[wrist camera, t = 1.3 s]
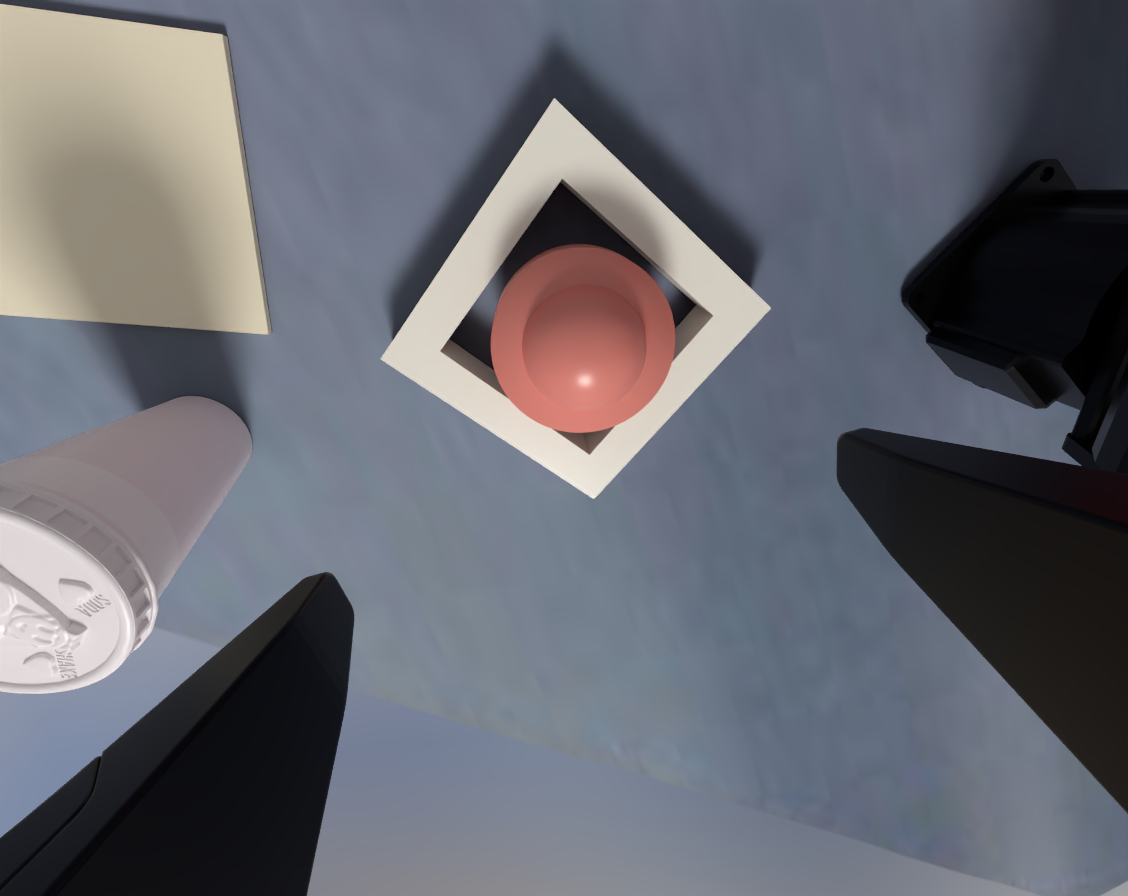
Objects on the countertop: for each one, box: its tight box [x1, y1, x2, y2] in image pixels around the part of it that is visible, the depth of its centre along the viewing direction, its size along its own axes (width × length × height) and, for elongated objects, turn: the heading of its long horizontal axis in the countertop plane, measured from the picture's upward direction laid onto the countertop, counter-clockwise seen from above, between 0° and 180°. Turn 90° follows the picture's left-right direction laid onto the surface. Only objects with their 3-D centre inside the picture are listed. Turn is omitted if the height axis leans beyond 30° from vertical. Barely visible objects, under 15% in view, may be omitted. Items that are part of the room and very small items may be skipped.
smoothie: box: [0, 396, 252, 694], centre depth 15 cm, size 6×6×14 cm
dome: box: [491, 244, 675, 433], centre depth 17 cm, size 6×6×4 cm
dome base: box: [381, 98, 771, 499], centre depth 19 cm, size 10×10×2 cm
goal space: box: [0, 4, 272, 335], centre depth 17 cm, size 9×9×1 cm
